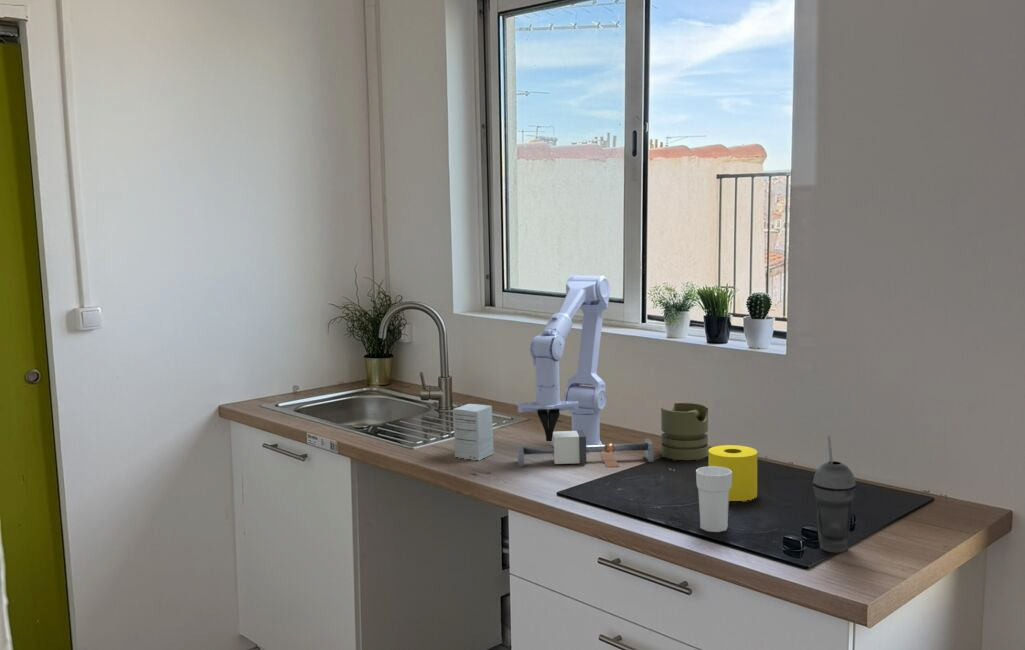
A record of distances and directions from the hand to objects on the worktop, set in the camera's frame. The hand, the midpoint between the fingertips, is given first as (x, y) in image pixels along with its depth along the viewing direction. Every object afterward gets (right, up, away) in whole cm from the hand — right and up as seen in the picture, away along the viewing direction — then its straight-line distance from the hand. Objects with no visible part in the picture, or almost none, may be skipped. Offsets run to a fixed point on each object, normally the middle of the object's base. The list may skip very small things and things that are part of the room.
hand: (549, 440), depth 225 cm
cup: (+29, -11, -48) cm, 57 cm away
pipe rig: (+9, -5, +1) cm, 10 cm away
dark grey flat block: (+8, -5, +1) cm, 10 cm away
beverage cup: (+48, -12, -60) cm, 78 cm away
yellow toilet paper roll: (+38, -8, -28) cm, 48 cm away
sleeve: (+4, -5, +1) cm, 7 cm away
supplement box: (-18, -5, +9) cm, 21 cm away
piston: (+34, -4, +5) cm, 34 cm away
